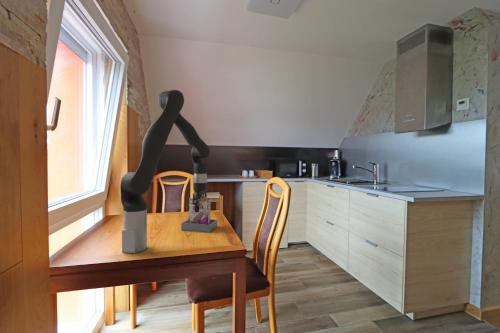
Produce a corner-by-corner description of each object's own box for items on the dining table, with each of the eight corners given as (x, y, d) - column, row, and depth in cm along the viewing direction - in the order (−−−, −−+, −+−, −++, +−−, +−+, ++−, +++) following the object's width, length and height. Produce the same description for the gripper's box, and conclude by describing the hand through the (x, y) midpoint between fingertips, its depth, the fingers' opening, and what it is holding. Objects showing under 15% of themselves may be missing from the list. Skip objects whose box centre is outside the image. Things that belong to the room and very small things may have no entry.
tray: (210, 232, 131) (210, 225, 131) (181, 230, 134) (181, 223, 134) (217, 226, 143) (217, 219, 142) (190, 224, 146) (190, 217, 145)
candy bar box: (188, 227, 136) (188, 198, 136) (191, 225, 141) (191, 196, 140) (208, 229, 135) (208, 199, 134) (210, 226, 140) (210, 197, 139)
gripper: (201, 183, 129) (201, 213, 130) (211, 180, 143) (210, 208, 144) (188, 182, 131) (188, 213, 132) (198, 180, 145) (198, 207, 146)
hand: (199, 210), depth 138 cm, fingers open, 8 cm apart
